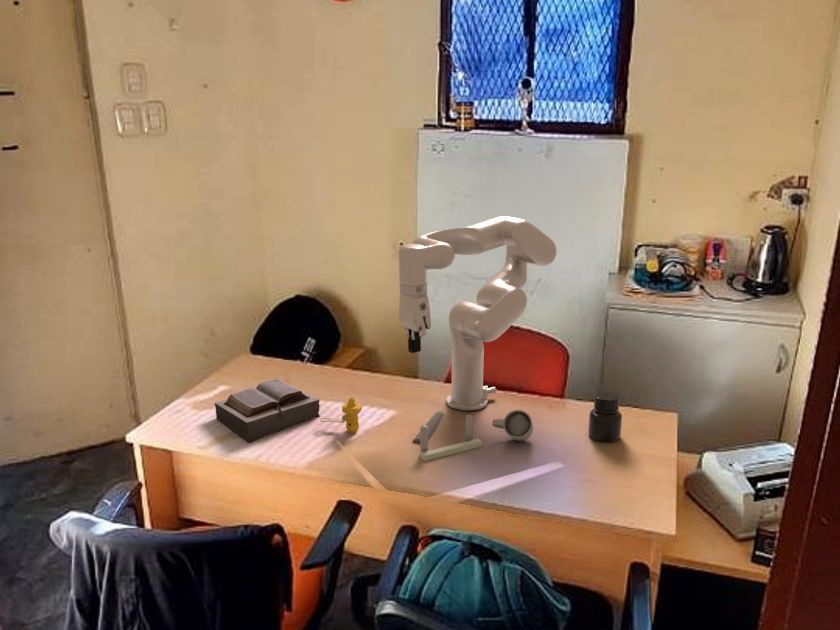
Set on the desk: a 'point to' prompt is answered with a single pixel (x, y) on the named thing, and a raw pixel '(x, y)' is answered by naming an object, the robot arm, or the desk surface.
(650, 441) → the desk surface
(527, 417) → the ceramic mug
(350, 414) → the pressure relief valve
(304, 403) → the bible
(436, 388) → the desk surface
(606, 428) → the ink bottle
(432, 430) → the half round rod
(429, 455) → the peg rack
